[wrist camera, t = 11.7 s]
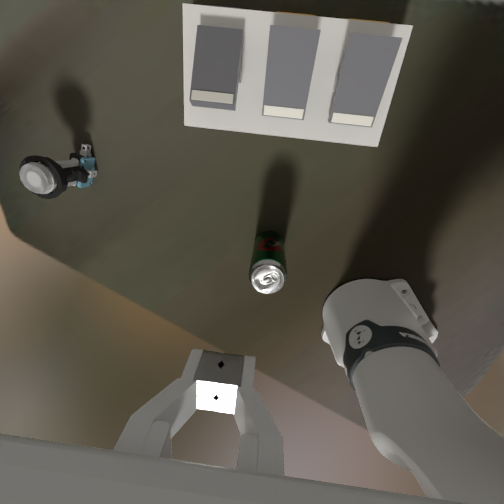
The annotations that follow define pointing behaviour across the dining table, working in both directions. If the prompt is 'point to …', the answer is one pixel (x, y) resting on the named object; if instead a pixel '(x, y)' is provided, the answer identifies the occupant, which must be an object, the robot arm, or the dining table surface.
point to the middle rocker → (289, 71)
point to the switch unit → (254, 73)
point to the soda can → (268, 263)
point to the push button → (57, 173)
